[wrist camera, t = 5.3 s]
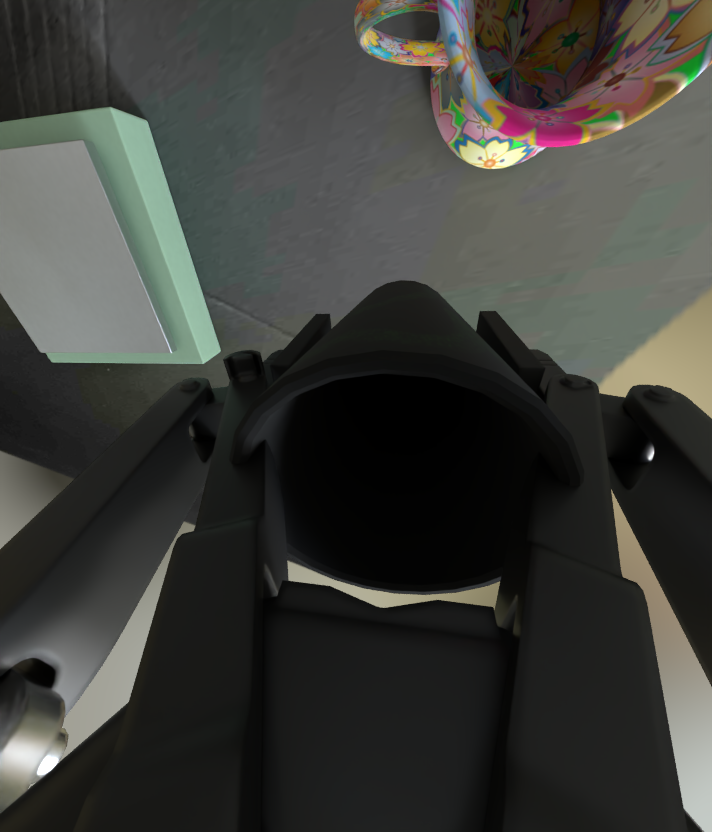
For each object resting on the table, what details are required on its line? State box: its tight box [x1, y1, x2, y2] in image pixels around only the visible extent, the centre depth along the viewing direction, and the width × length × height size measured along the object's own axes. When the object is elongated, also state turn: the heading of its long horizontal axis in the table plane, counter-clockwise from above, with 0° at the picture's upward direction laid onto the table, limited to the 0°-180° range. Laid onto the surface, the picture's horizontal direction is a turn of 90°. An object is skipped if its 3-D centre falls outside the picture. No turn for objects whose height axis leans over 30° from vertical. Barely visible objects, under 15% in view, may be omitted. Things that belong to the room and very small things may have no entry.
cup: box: [229, 280, 584, 595], centre depth 12 cm, size 8×8×12 cm
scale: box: [0, 107, 221, 364], centre depth 24 cm, size 16×17×3 cm
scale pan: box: [0, 139, 177, 353], centre depth 22 cm, size 13×13×1 cm
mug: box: [354, 0, 712, 169], centre depth 12 cm, size 12×9×11 cm
